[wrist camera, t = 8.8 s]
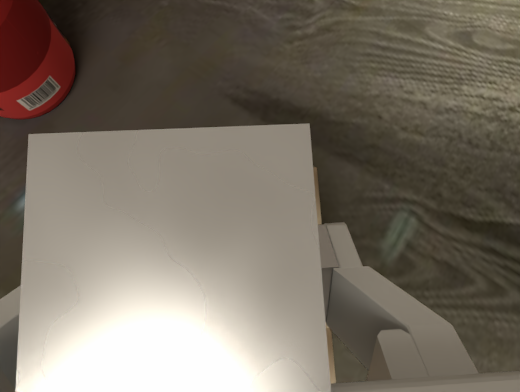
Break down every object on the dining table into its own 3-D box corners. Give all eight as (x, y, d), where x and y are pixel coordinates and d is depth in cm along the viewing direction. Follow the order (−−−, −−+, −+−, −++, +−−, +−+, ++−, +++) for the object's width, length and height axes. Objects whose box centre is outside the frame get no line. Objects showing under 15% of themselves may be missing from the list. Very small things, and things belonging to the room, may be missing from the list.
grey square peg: (271, 318, 17) (333, 420, 5) (174, 324, 17) (12, 444, 5) (266, 223, 18) (309, 123, 6) (172, 227, 18) (28, 134, 6)
